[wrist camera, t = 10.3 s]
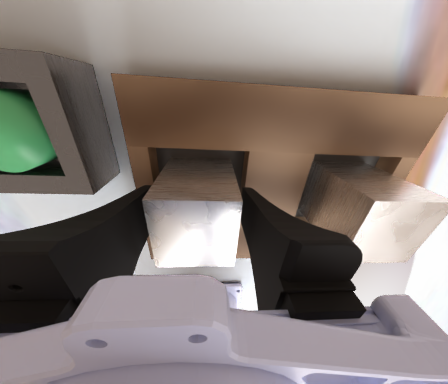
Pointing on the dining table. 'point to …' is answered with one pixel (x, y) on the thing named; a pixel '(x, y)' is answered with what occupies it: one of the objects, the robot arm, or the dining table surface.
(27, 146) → the button
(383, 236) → the block
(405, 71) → the dining table surface
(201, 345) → the robot arm
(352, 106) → the wooden socket board
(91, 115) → the button box
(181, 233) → the block
